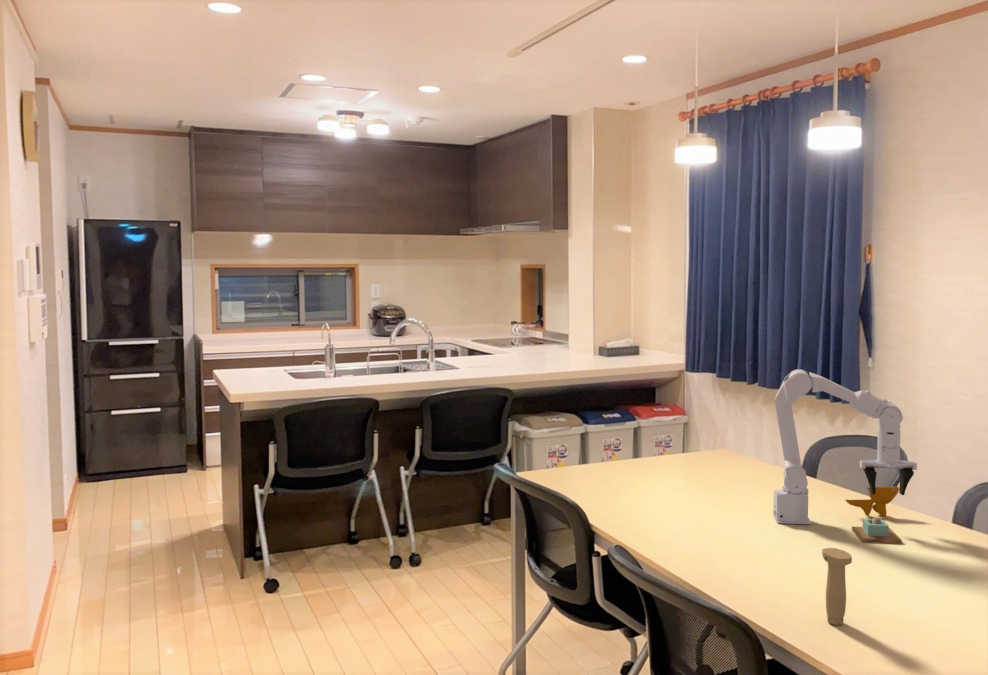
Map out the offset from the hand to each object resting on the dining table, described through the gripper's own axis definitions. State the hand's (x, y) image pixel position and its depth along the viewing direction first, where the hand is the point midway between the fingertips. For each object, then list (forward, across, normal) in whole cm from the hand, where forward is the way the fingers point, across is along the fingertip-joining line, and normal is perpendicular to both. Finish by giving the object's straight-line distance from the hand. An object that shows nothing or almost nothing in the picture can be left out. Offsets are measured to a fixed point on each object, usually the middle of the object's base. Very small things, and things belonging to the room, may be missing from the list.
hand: (887, 493), depth 226 cm
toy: (+10, -1, +11) cm, 15 cm away
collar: (+9, -5, -8) cm, 13 cm away
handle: (+10, -29, -65) cm, 72 cm away
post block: (+10, -5, -8) cm, 14 cm away
